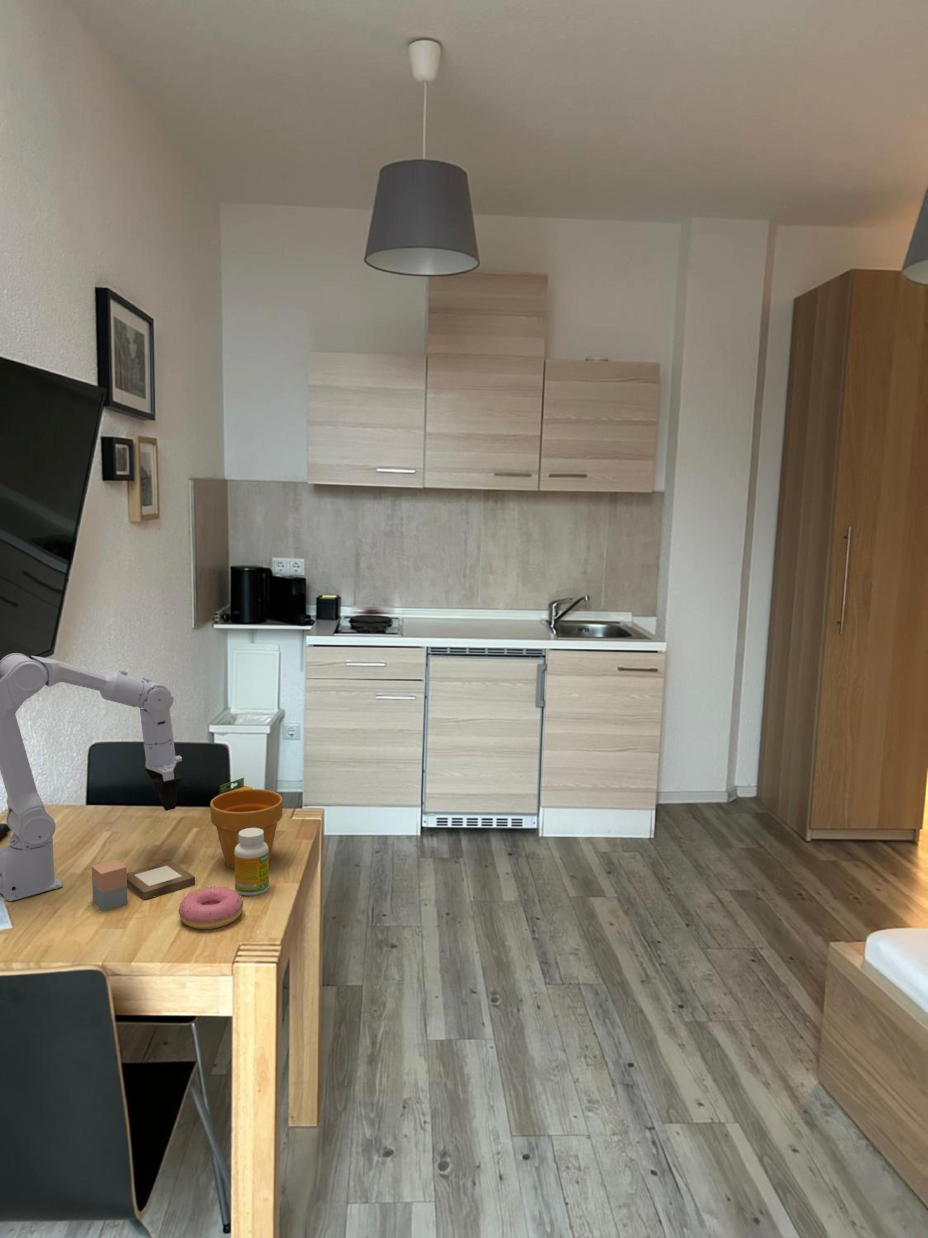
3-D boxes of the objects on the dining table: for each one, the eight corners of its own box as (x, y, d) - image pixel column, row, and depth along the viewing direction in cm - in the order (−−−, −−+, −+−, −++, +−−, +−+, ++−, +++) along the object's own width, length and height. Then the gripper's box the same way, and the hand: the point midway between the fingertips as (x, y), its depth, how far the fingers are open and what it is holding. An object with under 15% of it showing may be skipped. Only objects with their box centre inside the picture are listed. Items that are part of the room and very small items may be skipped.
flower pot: (265, 879, 168) (264, 815, 166) (198, 872, 170) (197, 808, 169) (293, 851, 181) (293, 791, 180) (231, 844, 184) (230, 786, 182)
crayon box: (229, 840, 187) (228, 788, 185) (219, 837, 188) (218, 785, 187) (253, 829, 193) (253, 779, 192) (244, 826, 195) (243, 777, 193)
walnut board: (144, 900, 158) (143, 892, 158) (121, 882, 165) (121, 874, 165) (195, 884, 165) (194, 876, 165) (171, 868, 172) (171, 860, 172)
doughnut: (205, 899, 159) (205, 878, 159) (255, 910, 155) (255, 888, 155) (165, 925, 149) (164, 903, 148) (217, 938, 145) (217, 915, 145)
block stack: (102, 911, 153) (101, 874, 152) (92, 902, 157) (91, 866, 156) (127, 903, 157) (126, 867, 156) (117, 895, 160) (116, 859, 159)
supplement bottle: (264, 897, 160) (263, 839, 159) (230, 896, 160) (229, 838, 159) (272, 882, 166) (271, 826, 165) (240, 881, 166) (239, 825, 165)
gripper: (186, 745, 171) (193, 810, 173) (171, 727, 183) (179, 787, 186) (149, 753, 167) (157, 818, 170) (136, 734, 180) (144, 795, 183)
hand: (166, 803), depth 178 cm, fingers open, 7 cm apart
